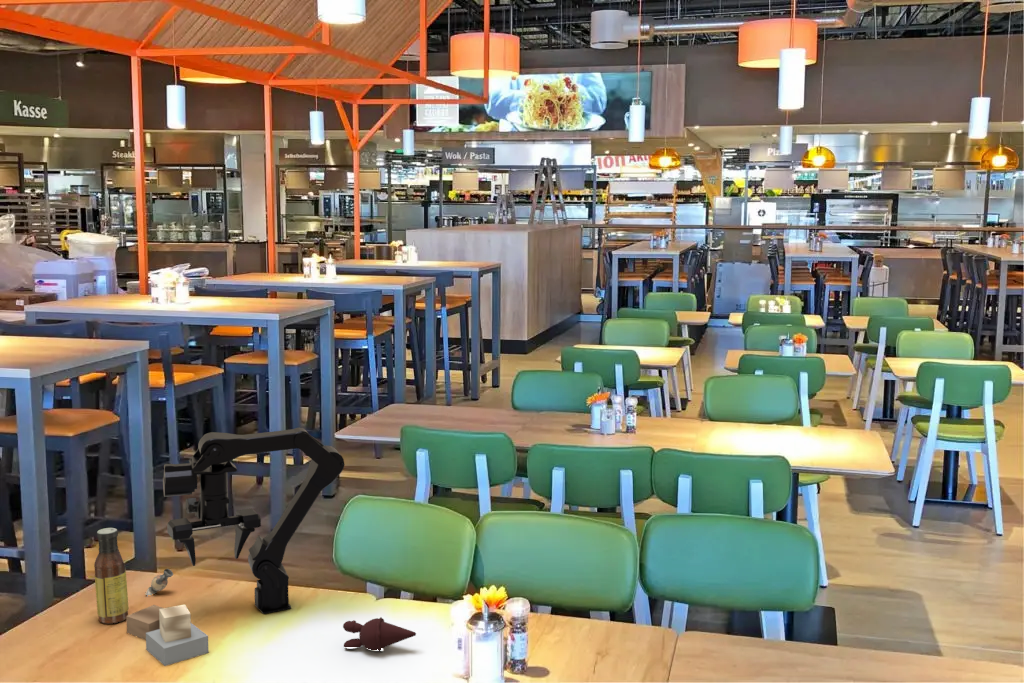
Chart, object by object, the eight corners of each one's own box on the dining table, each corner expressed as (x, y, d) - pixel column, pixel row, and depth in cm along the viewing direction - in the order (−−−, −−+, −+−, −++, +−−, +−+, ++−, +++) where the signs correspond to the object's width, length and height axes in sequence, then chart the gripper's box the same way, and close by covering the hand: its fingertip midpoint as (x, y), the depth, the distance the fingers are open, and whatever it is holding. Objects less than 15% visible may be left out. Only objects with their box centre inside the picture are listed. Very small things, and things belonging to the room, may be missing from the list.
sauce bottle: (134, 614, 218) (131, 526, 215) (120, 626, 212) (117, 536, 209) (105, 612, 219) (102, 524, 216) (90, 624, 213) (87, 534, 210)
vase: (177, 589, 232) (177, 565, 231) (167, 600, 227) (166, 576, 226) (155, 587, 233) (154, 564, 231) (144, 598, 228) (143, 574, 226)
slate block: (189, 639, 208) (188, 621, 207) (208, 654, 201) (208, 635, 200) (146, 651, 202) (145, 632, 201) (164, 667, 195) (164, 648, 194)
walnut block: (154, 622, 215) (153, 604, 214) (176, 630, 211) (176, 612, 211) (126, 634, 209) (126, 615, 208) (149, 642, 205) (148, 623, 205)
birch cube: (185, 627, 204) (184, 604, 203) (191, 637, 200) (190, 613, 199) (159, 632, 201) (159, 608, 201) (164, 642, 197) (164, 618, 196)
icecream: (418, 613, 207) (347, 615, 208) (412, 619, 200) (338, 621, 201) (419, 647, 206) (348, 649, 207) (413, 654, 199) (339, 657, 200)
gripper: (245, 477, 227) (246, 543, 229) (160, 488, 217) (162, 557, 219) (261, 490, 217) (261, 559, 220) (172, 502, 208) (174, 574, 210)
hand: (215, 561), depth 217 cm, fingers open, 9 cm apart
